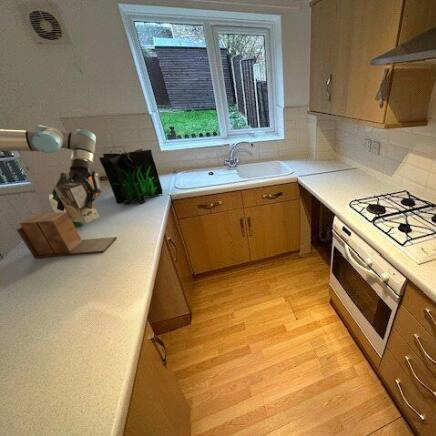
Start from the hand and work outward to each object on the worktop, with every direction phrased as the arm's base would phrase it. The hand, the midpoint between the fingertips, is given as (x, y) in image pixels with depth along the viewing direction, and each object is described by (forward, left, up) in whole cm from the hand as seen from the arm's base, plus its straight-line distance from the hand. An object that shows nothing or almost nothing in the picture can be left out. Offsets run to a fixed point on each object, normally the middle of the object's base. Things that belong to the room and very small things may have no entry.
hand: (74, 208), depth 101 cm
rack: (-9, +2, -21) cm, 23 cm away
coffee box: (0, +3, -7) cm, 7 cm away
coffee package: (-49, +72, -21) cm, 90 cm away
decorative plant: (-11, +66, -21) cm, 70 cm away
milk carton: (-28, +26, -21) cm, 44 cm away
